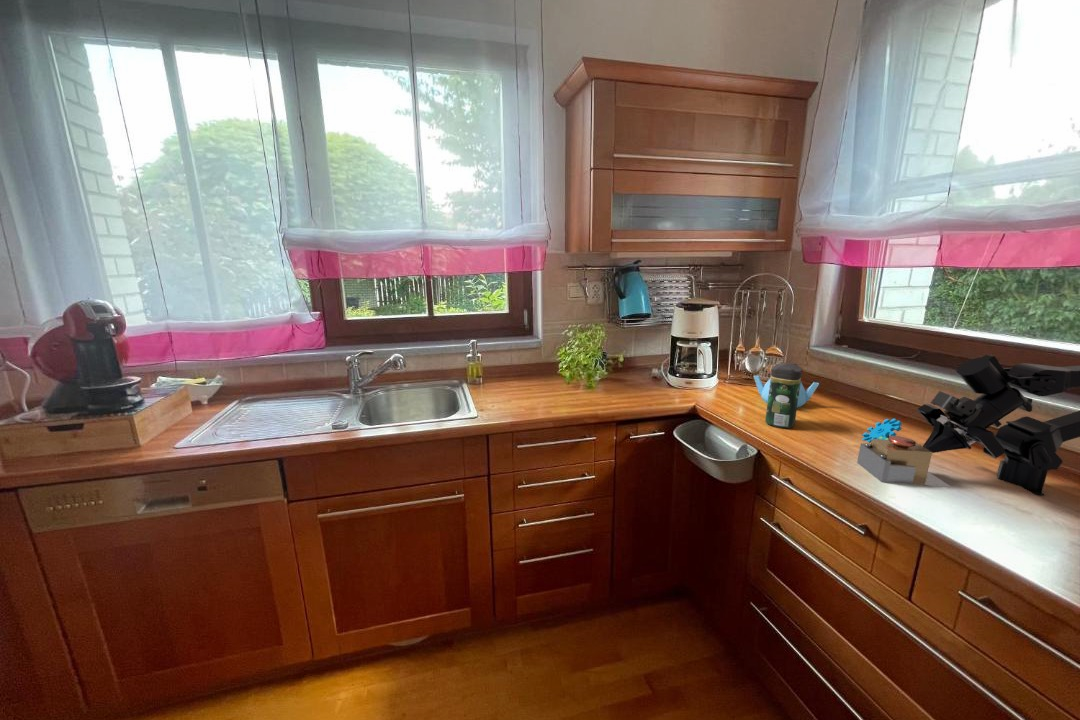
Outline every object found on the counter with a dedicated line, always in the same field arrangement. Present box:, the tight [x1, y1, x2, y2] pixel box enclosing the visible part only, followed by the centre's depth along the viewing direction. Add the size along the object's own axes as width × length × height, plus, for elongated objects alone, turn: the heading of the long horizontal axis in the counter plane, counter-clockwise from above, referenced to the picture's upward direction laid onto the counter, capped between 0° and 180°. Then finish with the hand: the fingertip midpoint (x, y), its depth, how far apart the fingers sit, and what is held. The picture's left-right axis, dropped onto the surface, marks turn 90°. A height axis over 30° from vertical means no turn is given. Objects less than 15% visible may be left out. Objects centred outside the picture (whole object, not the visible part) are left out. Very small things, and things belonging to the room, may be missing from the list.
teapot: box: [753, 375, 820, 409], centre depth 156 cm, size 15×15×11 cm
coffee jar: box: [764, 361, 803, 429], centre depth 135 cm, size 10×8×19 cm
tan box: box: [870, 435, 933, 481], centre depth 103 cm, size 9×6×8 cm, turn 83°
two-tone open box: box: [856, 442, 952, 488], centre depth 103 cm, size 14×10×7 cm
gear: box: [861, 418, 903, 444], centre depth 121 cm, size 11×6×10 cm
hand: (922, 452), depth 102 cm, fingers closed, pressing on tan box
